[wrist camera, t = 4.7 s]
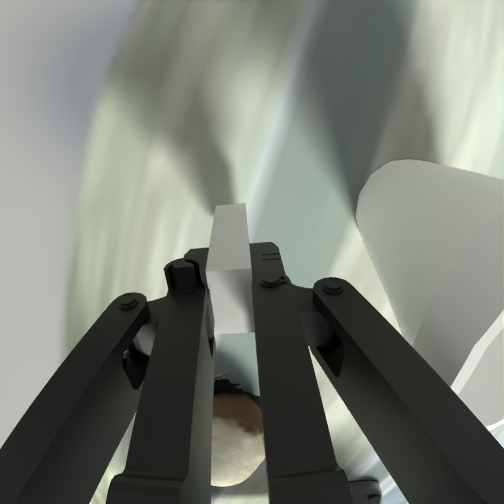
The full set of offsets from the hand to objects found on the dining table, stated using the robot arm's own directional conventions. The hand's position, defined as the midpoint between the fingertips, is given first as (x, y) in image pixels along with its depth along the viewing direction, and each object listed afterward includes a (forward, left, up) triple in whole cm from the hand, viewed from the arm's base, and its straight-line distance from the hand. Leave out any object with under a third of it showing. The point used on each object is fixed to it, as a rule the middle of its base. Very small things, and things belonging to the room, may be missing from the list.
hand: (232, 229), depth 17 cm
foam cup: (0, -10, -2) cm, 10 cm away
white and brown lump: (-18, +3, -2) cm, 18 cm away
